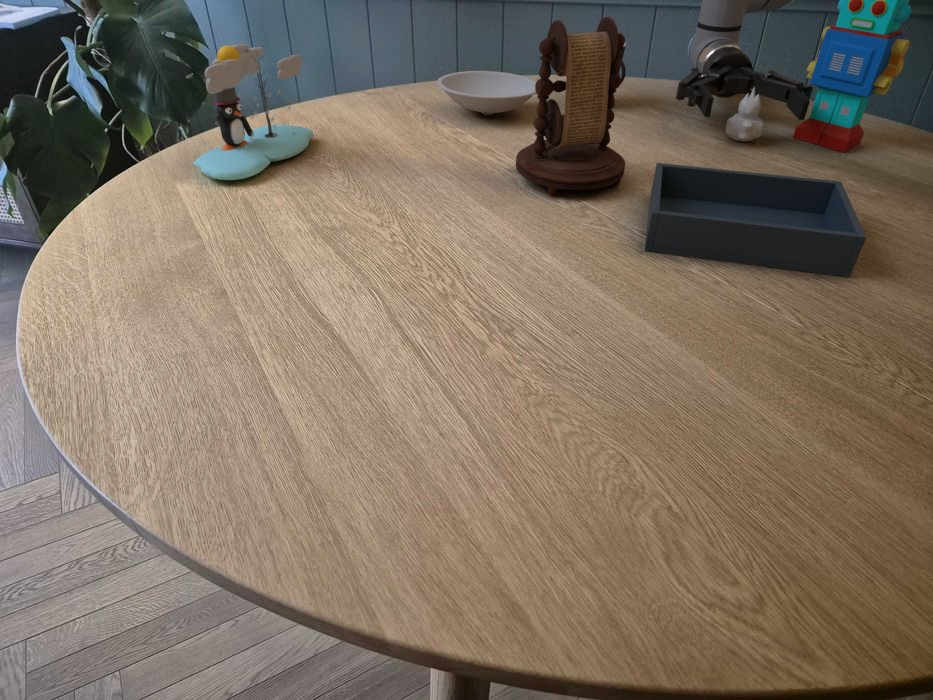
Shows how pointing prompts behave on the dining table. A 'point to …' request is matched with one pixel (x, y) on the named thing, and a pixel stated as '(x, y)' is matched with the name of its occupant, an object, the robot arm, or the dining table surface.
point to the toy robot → (853, 69)
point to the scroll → (576, 111)
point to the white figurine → (746, 120)
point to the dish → (487, 90)
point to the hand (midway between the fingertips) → (756, 109)
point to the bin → (753, 219)
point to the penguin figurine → (254, 146)
